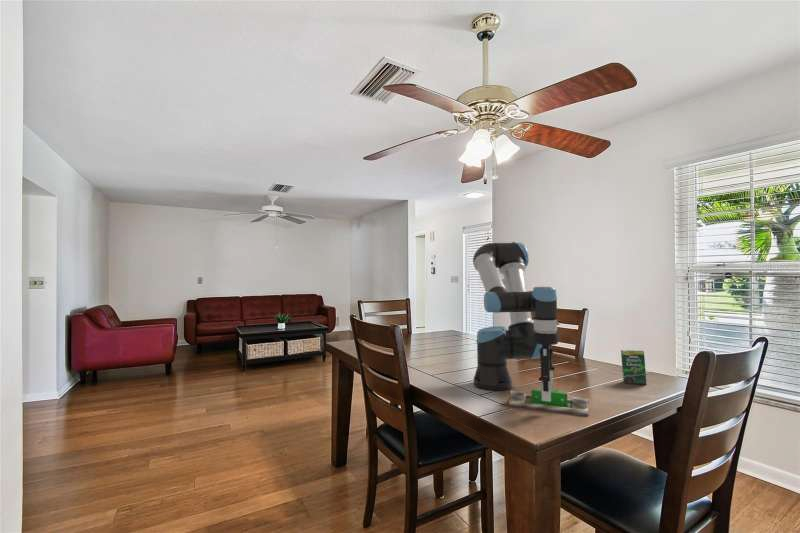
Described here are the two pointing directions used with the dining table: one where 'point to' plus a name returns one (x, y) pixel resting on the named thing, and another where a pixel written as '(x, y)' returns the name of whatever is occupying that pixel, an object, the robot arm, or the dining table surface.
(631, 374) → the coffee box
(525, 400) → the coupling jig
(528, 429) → the dining table surface
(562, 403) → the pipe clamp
